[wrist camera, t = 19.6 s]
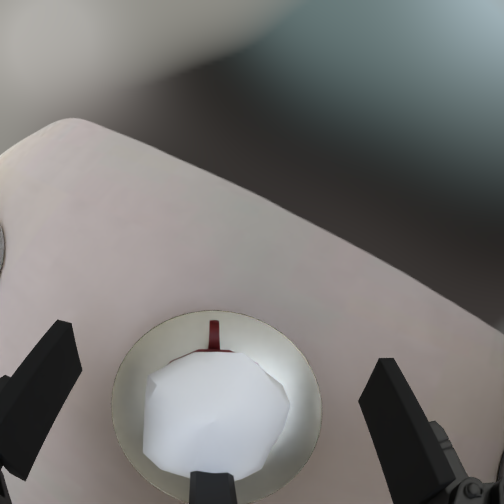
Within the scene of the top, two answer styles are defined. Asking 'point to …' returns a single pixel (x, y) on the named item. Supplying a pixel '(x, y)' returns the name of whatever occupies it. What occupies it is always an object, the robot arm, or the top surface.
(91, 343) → the top surface
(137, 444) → the beige and blue cylinder
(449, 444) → the robot arm
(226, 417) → the cocoa
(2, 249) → the cylinder vase
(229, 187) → the top surface
